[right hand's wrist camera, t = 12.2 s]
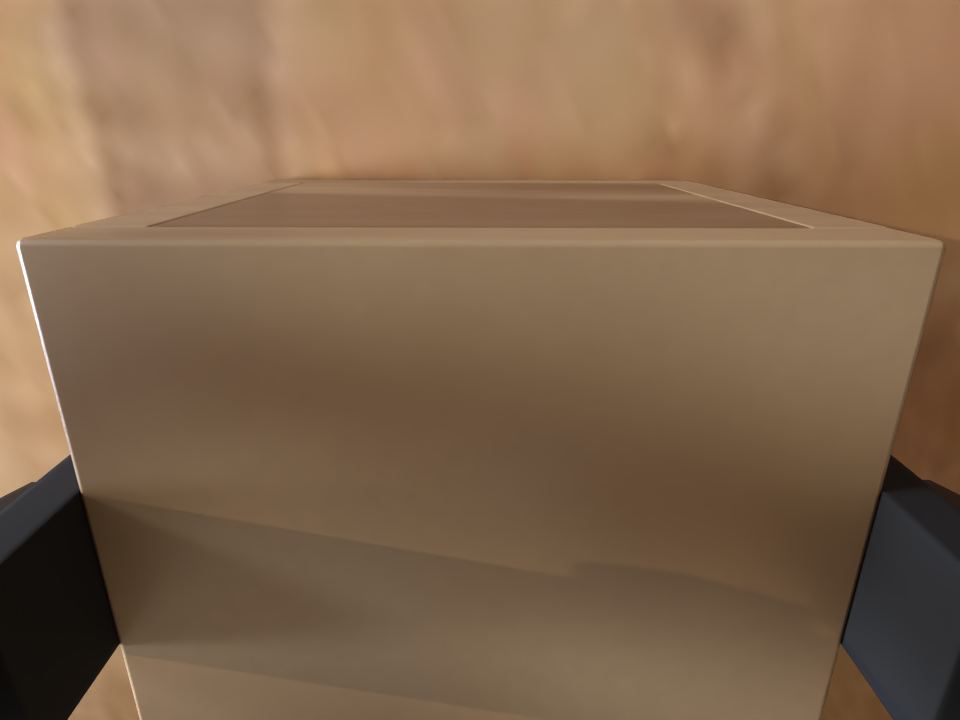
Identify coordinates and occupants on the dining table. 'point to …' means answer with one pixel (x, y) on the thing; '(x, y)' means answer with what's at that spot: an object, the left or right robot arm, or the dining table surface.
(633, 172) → the dining table surface
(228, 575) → the cabinet
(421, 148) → the dining table surface
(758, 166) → the dining table surface
